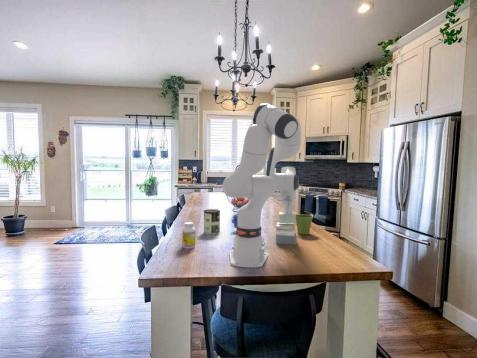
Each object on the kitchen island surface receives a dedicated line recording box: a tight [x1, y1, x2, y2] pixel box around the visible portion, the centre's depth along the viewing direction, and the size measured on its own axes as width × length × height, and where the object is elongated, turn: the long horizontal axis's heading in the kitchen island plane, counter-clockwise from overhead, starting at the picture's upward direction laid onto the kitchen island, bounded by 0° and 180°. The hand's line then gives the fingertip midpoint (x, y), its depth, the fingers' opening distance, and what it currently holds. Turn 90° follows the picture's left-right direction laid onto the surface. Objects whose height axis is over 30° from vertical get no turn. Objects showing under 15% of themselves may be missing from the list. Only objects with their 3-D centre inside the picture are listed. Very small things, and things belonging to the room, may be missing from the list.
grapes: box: [231, 212, 238, 228], centre depth 174 cm, size 12×7×12 cm, turn 98°
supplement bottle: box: [181, 221, 196, 250], centre depth 140 cm, size 7×7×13 cm
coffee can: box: [203, 208, 221, 236], centre depth 169 cm, size 10×10×14 cm
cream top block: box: [275, 221, 296, 236], centre depth 153 cm, size 10×10×5 cm
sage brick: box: [278, 211, 297, 225], centre depth 152 cm, size 6×9×5 cm, turn 84°
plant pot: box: [296, 213, 314, 235], centre depth 170 cm, size 12×12×11 cm
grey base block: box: [275, 232, 297, 246], centre depth 153 cm, size 11×11×5 cm
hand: (287, 219), depth 152 cm, fingers closed on sage brick, 6 cm apart
